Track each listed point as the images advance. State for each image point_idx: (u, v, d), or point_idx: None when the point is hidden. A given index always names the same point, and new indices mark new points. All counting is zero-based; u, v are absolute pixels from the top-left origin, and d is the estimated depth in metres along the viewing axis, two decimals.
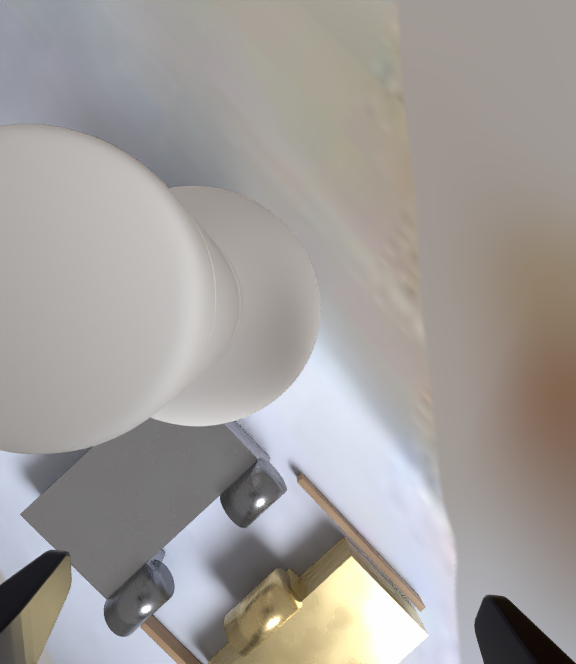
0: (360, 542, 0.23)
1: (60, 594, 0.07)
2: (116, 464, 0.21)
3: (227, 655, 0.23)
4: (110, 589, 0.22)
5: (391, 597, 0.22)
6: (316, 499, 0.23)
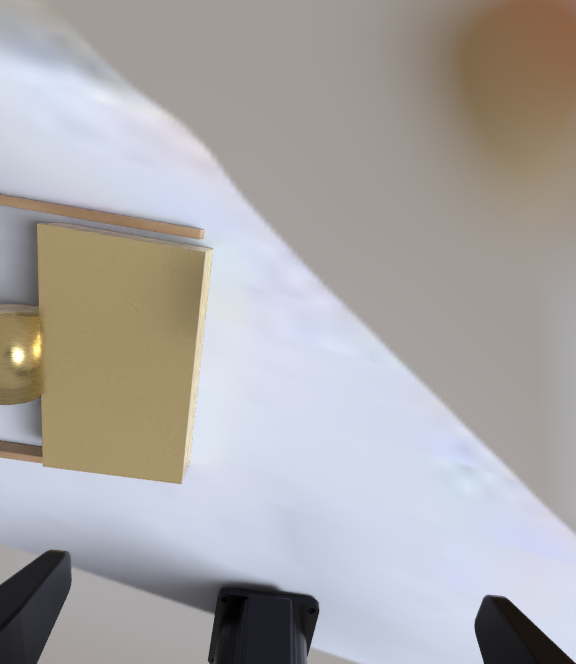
0: (64, 210, 0.16)
1: (60, 594, 0.07)
2: None
3: None
4: None
5: (127, 239, 0.16)
6: None
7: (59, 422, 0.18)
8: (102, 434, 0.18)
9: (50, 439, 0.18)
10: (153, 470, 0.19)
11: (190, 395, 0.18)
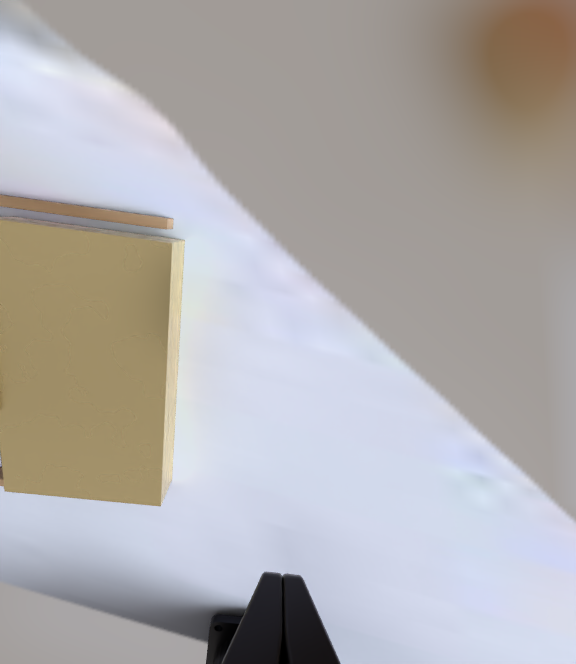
0: (10, 201, 0.14)
1: None
2: None
3: None
4: None
5: (82, 231, 0.14)
6: None
7: (19, 442, 0.16)
8: (68, 454, 0.16)
9: (10, 461, 0.16)
10: (128, 492, 0.17)
11: (165, 407, 0.16)
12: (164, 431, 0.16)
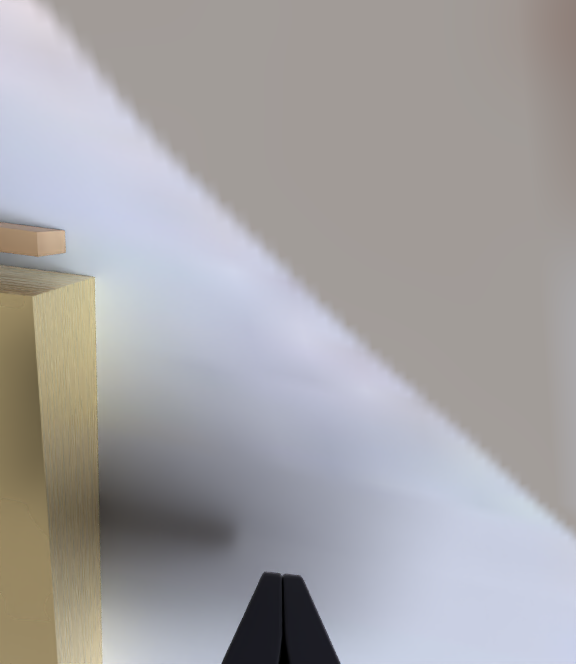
0: None
1: None
2: None
3: None
4: None
5: None
6: None
7: None
8: None
9: None
10: None
11: (56, 636, 0.07)
12: None
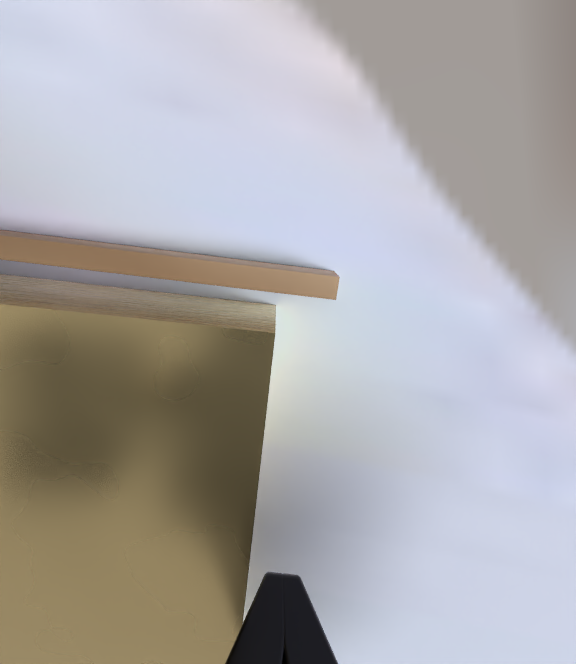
0: None
1: None
2: None
3: None
4: None
5: (50, 308, 0.05)
6: None
7: None
8: None
9: None
10: None
11: None
12: None
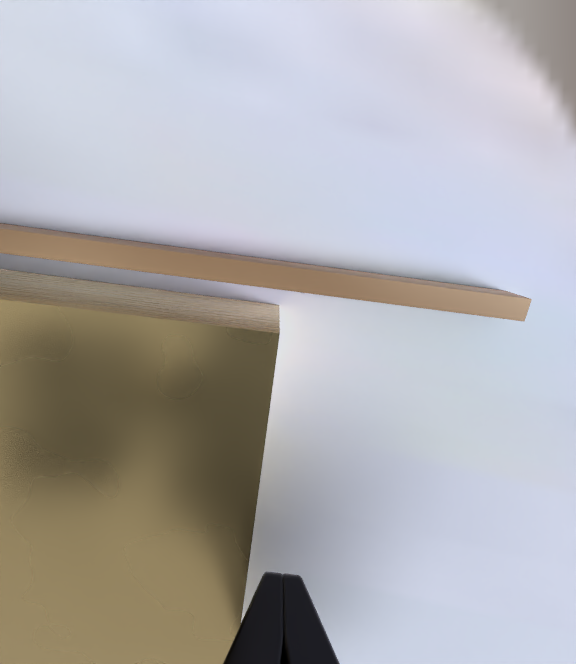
0: (184, 262, 0.06)
1: None
2: None
3: None
4: None
5: (54, 305, 0.05)
6: None
7: None
8: None
9: None
10: None
11: None
12: None
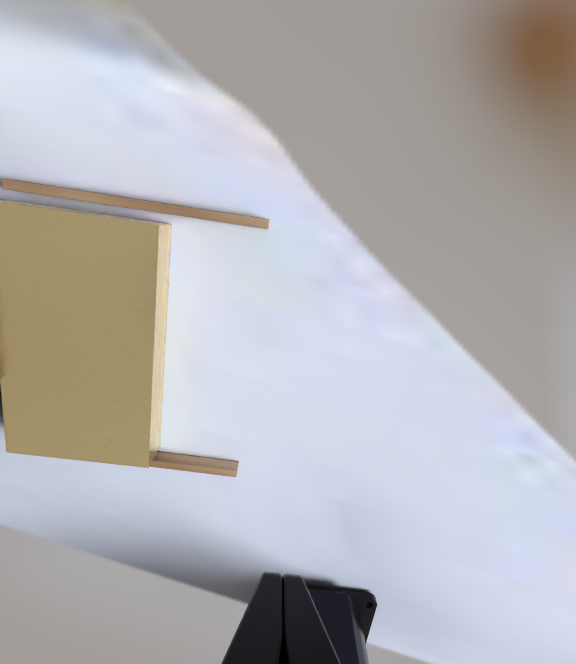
0: (131, 202, 0.16)
1: None
2: None
3: None
4: None
5: (78, 213, 0.15)
6: (39, 190, 0.16)
7: (20, 406, 0.18)
8: (64, 418, 0.18)
9: (12, 424, 0.18)
10: (119, 453, 0.19)
11: (152, 375, 0.17)
12: (152, 397, 0.18)
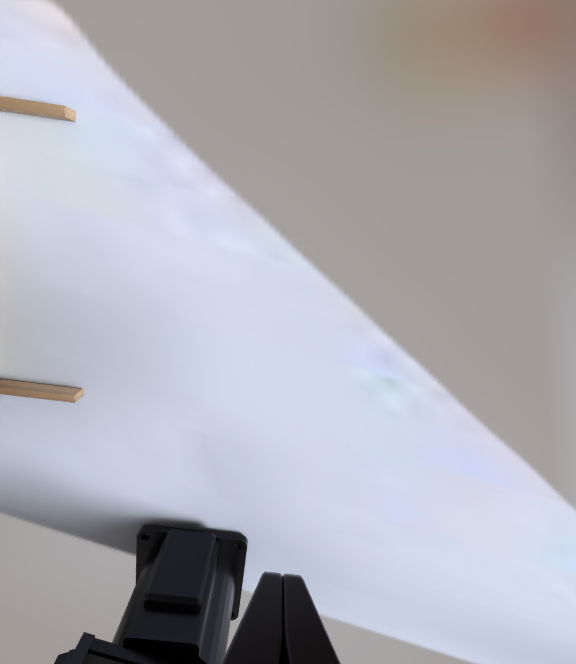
0: None
1: None
2: None
3: None
4: None
5: None
6: None
7: None
8: None
9: None
10: None
11: None
12: None
